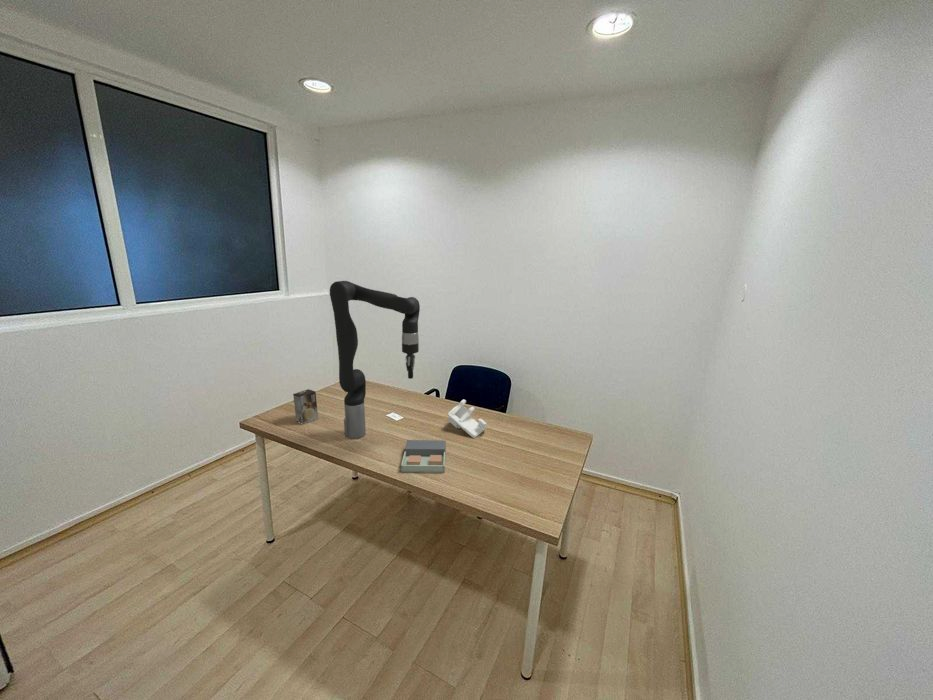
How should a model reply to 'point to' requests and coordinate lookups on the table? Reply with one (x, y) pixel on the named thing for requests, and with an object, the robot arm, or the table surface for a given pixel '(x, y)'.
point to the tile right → (435, 459)
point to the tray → (422, 465)
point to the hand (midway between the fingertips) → (410, 378)
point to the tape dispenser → (466, 420)
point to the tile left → (414, 460)
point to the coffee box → (305, 406)
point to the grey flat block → (425, 447)
